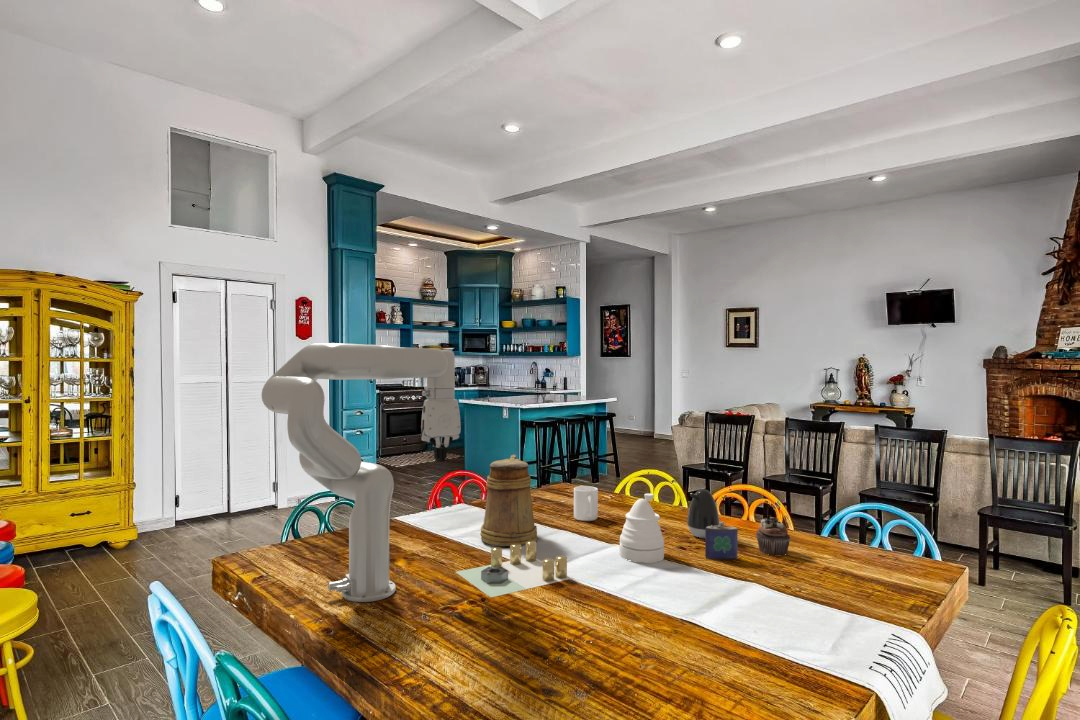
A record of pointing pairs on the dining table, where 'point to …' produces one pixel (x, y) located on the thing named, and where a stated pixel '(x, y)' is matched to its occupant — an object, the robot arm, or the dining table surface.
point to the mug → (585, 503)
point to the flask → (721, 542)
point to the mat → (510, 578)
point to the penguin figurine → (702, 513)
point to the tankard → (508, 504)
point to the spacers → (532, 560)
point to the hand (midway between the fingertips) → (440, 461)
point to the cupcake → (772, 537)
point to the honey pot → (642, 533)
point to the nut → (494, 575)
